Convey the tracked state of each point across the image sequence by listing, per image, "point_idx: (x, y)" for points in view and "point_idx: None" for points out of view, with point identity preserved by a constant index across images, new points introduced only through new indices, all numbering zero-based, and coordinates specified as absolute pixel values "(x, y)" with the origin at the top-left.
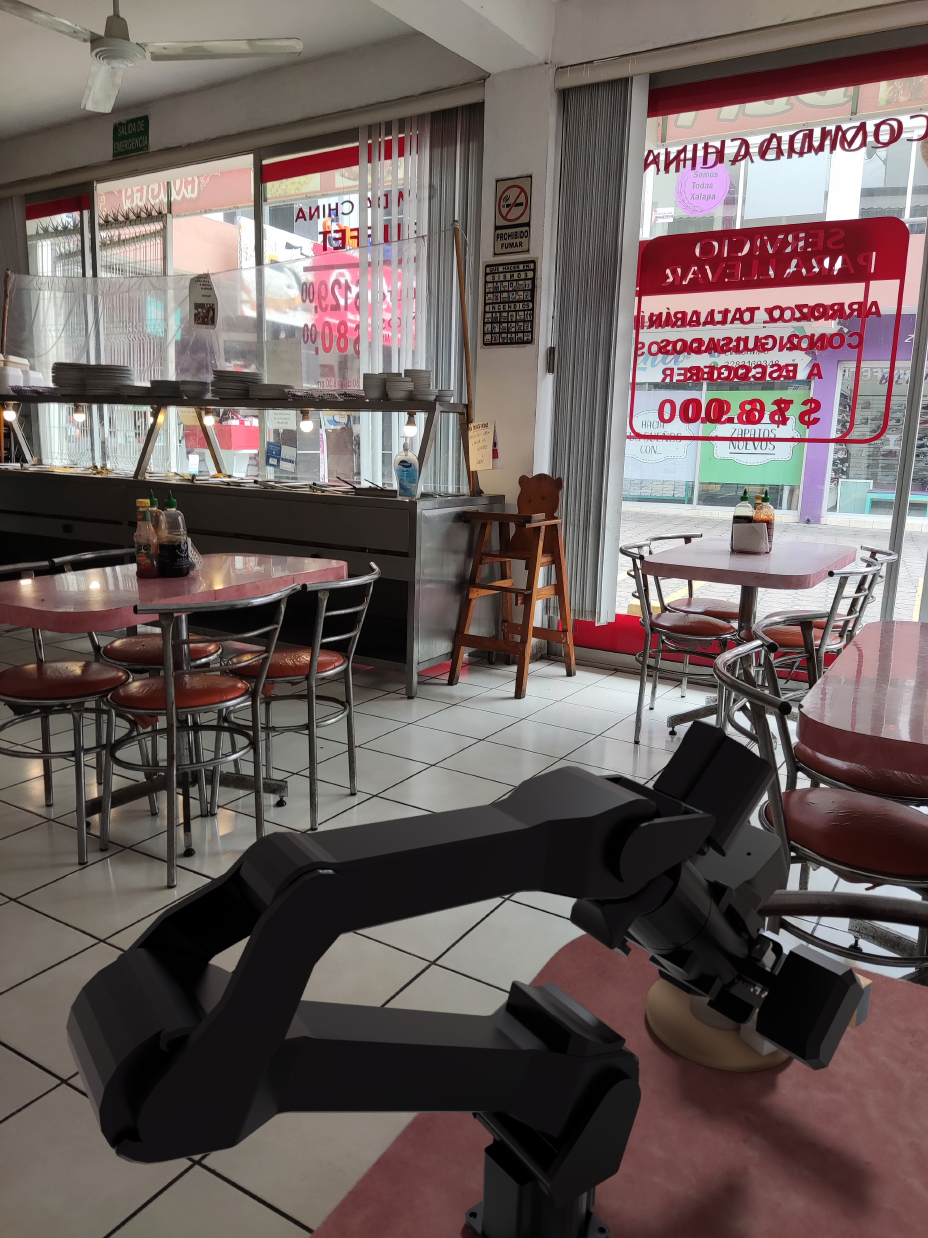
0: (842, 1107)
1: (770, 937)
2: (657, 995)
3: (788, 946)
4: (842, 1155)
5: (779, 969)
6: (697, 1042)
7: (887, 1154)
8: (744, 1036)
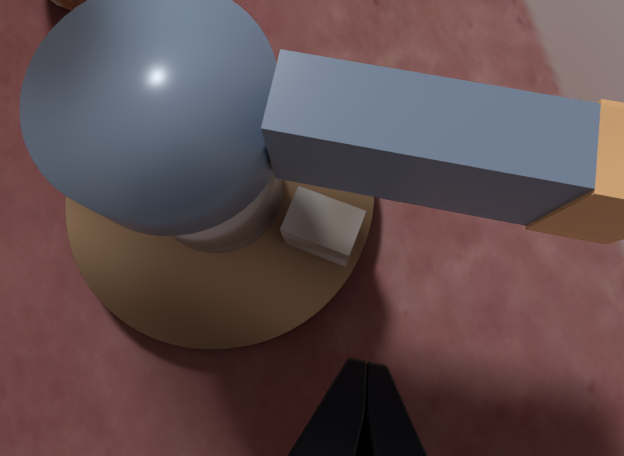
0: (500, 273)
1: (307, 86)
2: (87, 230)
3: (383, 99)
4: (552, 400)
5: (369, 175)
6: (221, 321)
7: (607, 339)
8: (295, 245)
